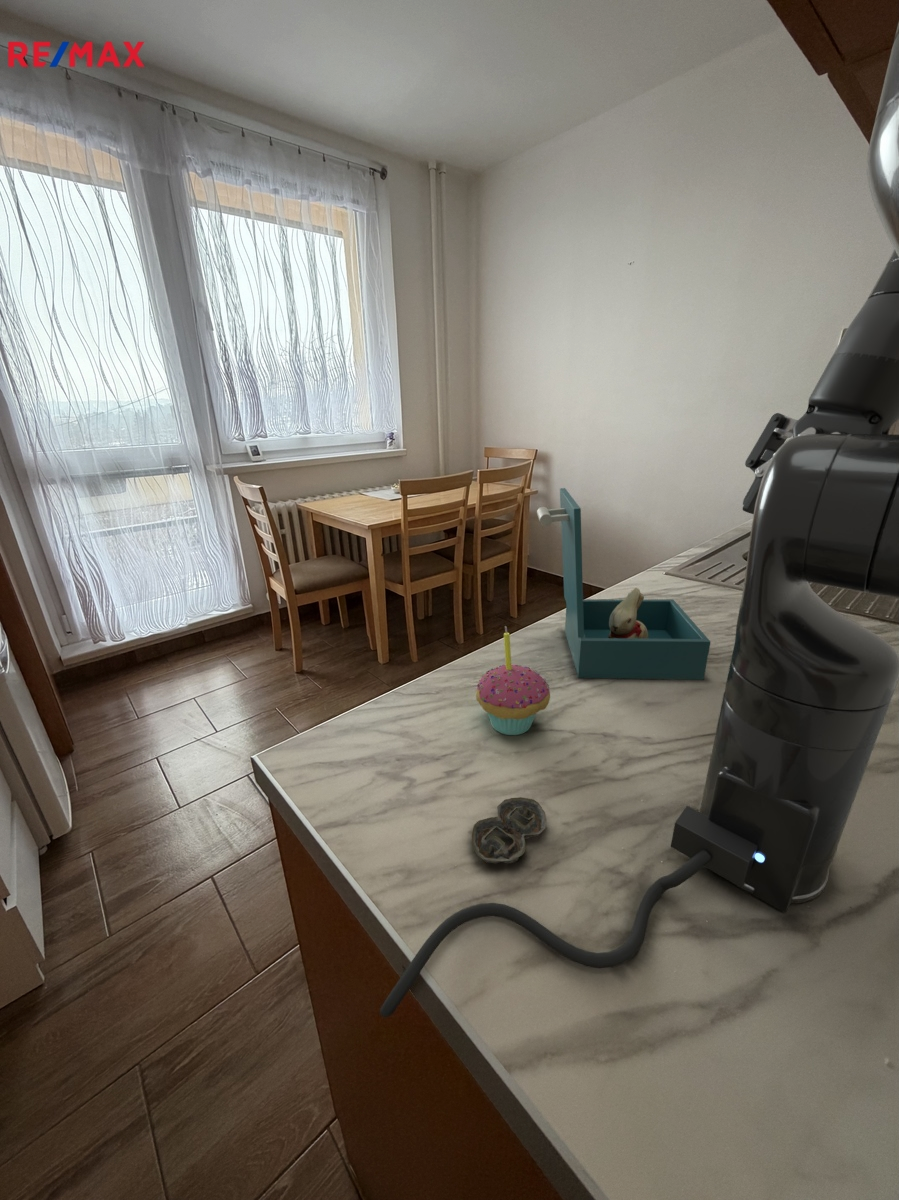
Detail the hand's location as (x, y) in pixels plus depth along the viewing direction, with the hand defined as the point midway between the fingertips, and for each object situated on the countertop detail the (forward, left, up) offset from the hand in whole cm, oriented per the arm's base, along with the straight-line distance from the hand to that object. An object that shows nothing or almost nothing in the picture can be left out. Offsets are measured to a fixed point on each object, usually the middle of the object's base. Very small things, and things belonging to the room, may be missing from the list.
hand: (783, 526), depth 51 cm
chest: (+3, +17, -22) cm, 28 cm away
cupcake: (-22, +19, -23) cm, 37 cm away
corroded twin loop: (-35, +9, -22) cm, 42 cm away
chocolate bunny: (+3, +17, -22) cm, 28 cm away
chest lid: (-2, +23, -8) cm, 25 cm away
